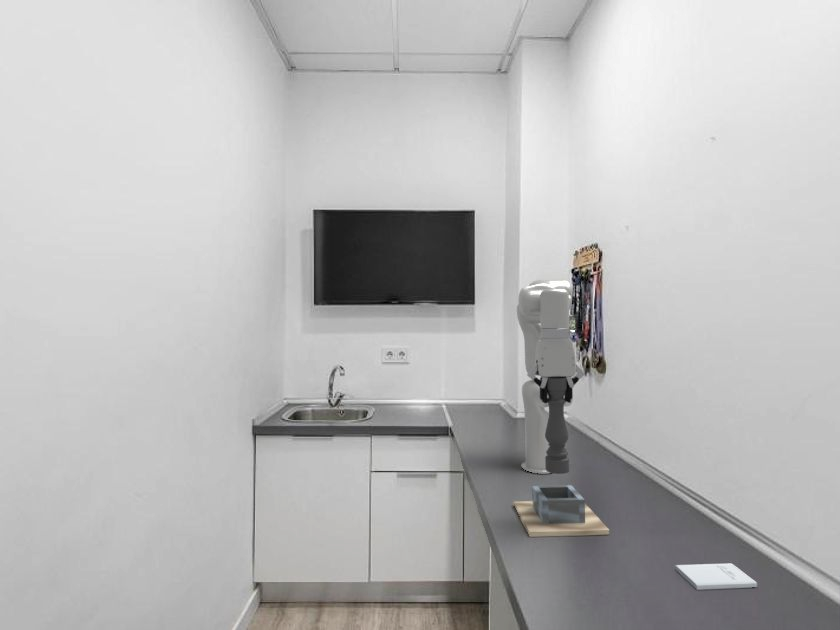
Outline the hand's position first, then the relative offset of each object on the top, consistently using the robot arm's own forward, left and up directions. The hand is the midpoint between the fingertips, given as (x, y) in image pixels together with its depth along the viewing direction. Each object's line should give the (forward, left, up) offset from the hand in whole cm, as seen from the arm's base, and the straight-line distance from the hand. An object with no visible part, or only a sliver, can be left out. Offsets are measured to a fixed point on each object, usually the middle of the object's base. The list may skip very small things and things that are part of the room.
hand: (556, 401), depth 135 cm
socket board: (0, 0, -32) cm, 32 cm away
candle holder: (0, 0, -19) cm, 19 cm away
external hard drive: (+31, +24, -33) cm, 51 cm away
